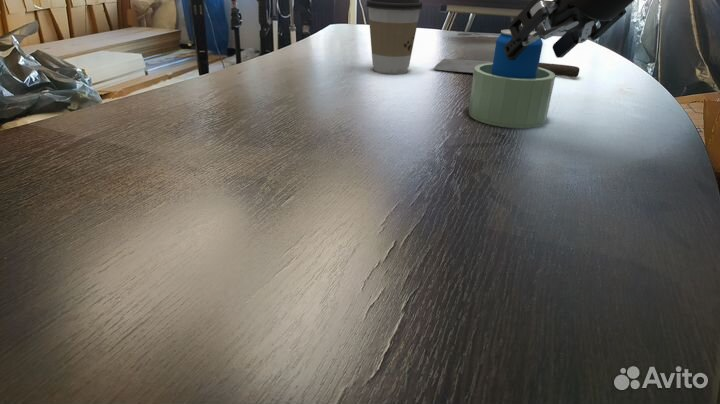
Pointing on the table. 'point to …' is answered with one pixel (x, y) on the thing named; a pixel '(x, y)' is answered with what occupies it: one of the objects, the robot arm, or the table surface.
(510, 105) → the canister
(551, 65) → the cleaver
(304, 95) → the table surface
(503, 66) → the beverage can
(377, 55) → the coffee cup
